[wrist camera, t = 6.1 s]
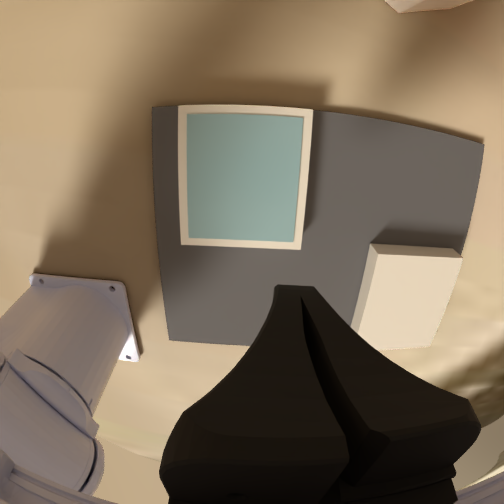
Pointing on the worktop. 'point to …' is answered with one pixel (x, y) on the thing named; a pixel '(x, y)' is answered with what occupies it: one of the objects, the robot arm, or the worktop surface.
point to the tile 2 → (404, 295)
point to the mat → (315, 222)
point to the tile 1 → (243, 175)
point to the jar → (423, 5)
